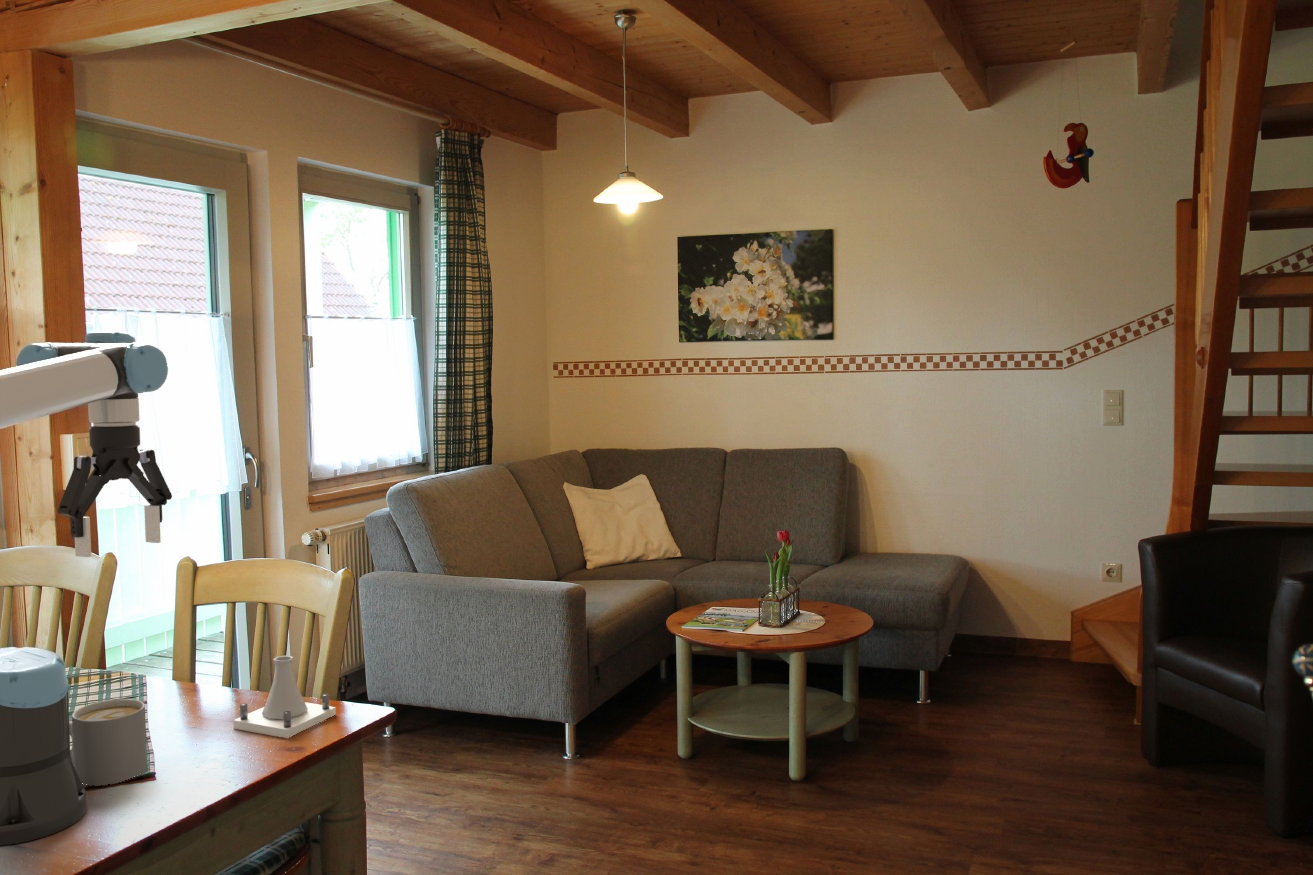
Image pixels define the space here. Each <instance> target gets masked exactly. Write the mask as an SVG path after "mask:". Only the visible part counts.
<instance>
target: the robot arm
mask: <svg viewBox="0 0 1313 875" xmlns="http://www.w3.org/2000/svg"><path fill="white" fill-rule="evenodd" d="M84 340H85V341H84V342H83V343H82V342H73V343H72V342H66V343H65V342H50V341H49V342H45V341H44V342H39V343H37V342H36V343H35V342H34V343H29V344H27V345H25V346H24V347H23V348H22V349H21V350H20V351H19V353H18V356H17V358H16V363H15V364H16V366H14V367H9V368H5V369H0V430H1V429H4V428H5V429H6V428H9V427H12V426H15V425H18V424H19V425H20V424H22V423H25V422H29V421H30V422H31V421H33V420H35V419H40V418H43V417H47V416H49V415H53V414H56V413H61V412H64V411H67V410H68V411H69V410H71V409H74V408H78V407H80V406H85V405H87V406H88V408H87V410H88V422H89V423H90V424H92V425H91V426H90V427H89V428H88V431H89V432H88V433H89V434H88V435H89V446H90V448H91V450H92V454H91V456H88V455H75V456H74V458H73V470H72V473H71V475H70V478H69V480H68V483H67V485H66V487H65V490H64V493H63V495H62V498H61V500H60V502H59V505H58V508H57V514H59V515H62V516H65V517H69V521H70V522H69V523H70V535H71V537H72V538H74V550H75V557H79V558H80V557H81V558H82V557H83V558H91V557H92V542H91V541H92V540H91V537H92V536H91V519H90V518H91V517H90V516H86V514H87V512H89V510H90V508H91V506H92V505H93V504H94V502H95V501H96V499H97V498H98V495H99V494H100V493H101V491H102V490H103V489H104V486H105V485H106V484H108V483H109V482H110V481H117V480H119V479H120V480H121V479H123V480H129V482H130V483H131V484H132V486H134V487H135V489H136V490H137V491H138V492H139V494H140V495H141V496H142V497H143V498H144V500H146V502H147V503H148V504H144V505H143V506H144V530H145V532H144V533H145V543H150V544H152V543H153V544H159V543H161V523H162V522H163V506H165V505H167V503H168V500H169V501H170V500H171V499H172V497H173V495H172V493H171V492H172V491H170V488H169V485H168V484H167V482H166V480H165V478H164V476H163V474H162V472H161V470H160V467H159V464H158V463H157V459H156V452H155V450H154V449H146V448H145V449H144V448H143V449H139V448H138V447H139V446H140V445H141V430H140V427H141V426H139V425H138V424H137V423H138V422H139V421H140V404H139V394H143V393H151V392H154V391H155V392H156V391H157V390H159V389H160V388H161V387H163V385H164V384H165V382H166V380H167V377H168V373H169V367H168V361H167V357H166V355H165V354H164V352H163V351H162V350H161V349H160V348H159V347H157V346H156V345H154V344H150V343H141V342H137V341H136V338H135V335H133V334H132V333H130V332H126V331H124V332H122V331H121V332H120V331H90V332H89V331H88V332H87V333H86V334H85V339H84ZM139 463H140V466H141V468H140V467H139V466H138V464H139ZM92 468H93V470H92V471H91V469H92ZM145 476H146V477H145ZM69 689H70V688H69V679H68V677H67V671H66V664H65V661H64V660H63V659H62V657H61V656H60V655H58V654H57V653H55V652H53V651H51V650H48V649H44V648H40V647H31V646H23V647H16V646H10V647H7V646H6V647H1V648H0V846H7V845H13V844H19V843H20V844H21V843H25V842H30V841H33V840H38V839H40V838H45V837H47V836H50V835H52V834H55V833H58V832H60V831H62V830H64V829H66V828H68V827H71V826H72V825H75V823H77V822H78V821H79V820H80V819H82V818H83V817H84V815H85V814H86V812H87V809H88V805H87V802H88V801H87V792H86V789H85V787H84V785H82V782H81V780H80V778H79V776H78V774H77V772H76V769H75V767H74V765H73V763H72V761H71V757H70V750H71V746H70V745H71V744H70V742H71V740H70V737H71V735H70V734H69V721H70V708H69V707H70V704H69V700H70V699H69Z"/></svg>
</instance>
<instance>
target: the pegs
mask: <svg viewBox="0 0 1313 875" xmlns="http://www.w3.org/2000/svg"><path fill="white" fill-rule="evenodd" d="M321 702H322V703H321V705H322V709H323V710H327V709H329V706H330V694H329V693H323V694H321ZM248 714H249V712H248V703H241V704H240V705H239V718H240V720H246V719H248ZM283 720H284V728H289V727H291V711H285V712H283Z"/></svg>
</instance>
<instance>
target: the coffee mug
mask: <svg viewBox="0 0 1313 875" xmlns="http://www.w3.org/2000/svg"><path fill="white" fill-rule="evenodd" d="M146 722H147V721H146V705H145V703H144V702H143V701H142V700H138V699H133V698H117V699H107V700H103V701H101V700H100V701H96V702H93V703H89V704H86V705H84V706H82V707H79V708H78V709H76V710H74V711H73V712H72V715H71V721H70V720H69V736H70V737H71V745H72V746H71V748H70V757H71V761H72V763H73V765H74V767H75V769H76V772H77V774H78V776H79V778H80V780H81V782H82V783H83V784H87V785H90V786H91V787H99V786H100V787H102V786H109V785H108V784H110V785H114V784H119V782H120V783H122V781H123V782H126V781H125V780H127V781H129V780H131V779H130V778H132V777H134V776H137V775H139V774H140V773H142V772H143V771H144V770H145V769H146V768H147V769H148V754H147V753H148V752H147V749H148V748H147V727H146V725H147V724H146ZM147 769H146V770H147ZM146 770H145V771H146ZM145 771H144V772H145ZM144 772H143V773H144ZM143 773H142V774H143ZM140 775H141V774H140ZM140 775H139V776H140ZM137 777H138V776H137ZM128 779H129V780H128ZM132 779H133V778H132ZM87 785H86V786H87ZM92 785H94V786H92ZM101 785H102V786H101ZM90 786H89V787H90Z"/></svg>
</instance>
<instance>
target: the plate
mask: <svg viewBox="0 0 1313 875" xmlns="http://www.w3.org/2000/svg"><path fill="white" fill-rule="evenodd" d="M304 702H305V701H304ZM305 704H306V706H307V709H308V710H307V711H305V712H304V713H303V714H301V715H299V716H295V717H292V718H291V727H289V728H284V720H283V719H269V718H267V717H265V716H263V715H262V712H263V709H264V706H263V707H260V708H258V709H256V710H254V711H252V712H248V719H246V720H240V717H237V718H236V719H233V729H235V730H240V731H244V732H250V733H257V734H262V735H267V736H273V737H277V736H278V738H282V737H283V739H290V738H292V737H291V736H293V735H295V734H297V733H299V732H301V731H303V730H305V729H306V728H308V727H311V726H312V725H314V724H317V723H319V722H320V721H322V720H325V719H327V718H329V717H332V716H334V715H337V708H336V706H331V705H329V709H327V710H323V709H322V704H318V703H312V702H305ZM334 717H335V716H334ZM332 718H333V717H332ZM325 721H326V720H325ZM319 724H320V723H319ZM317 725H318V724H317ZM311 728H312V727H311ZM305 731H306V730H305ZM303 732H304V731H303ZM301 733H302V732H301ZM299 734H300V733H299ZM297 735H298V734H297ZM295 736H296V735H295ZM289 737H290V738H289ZM293 737H294V736H293Z"/></svg>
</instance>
